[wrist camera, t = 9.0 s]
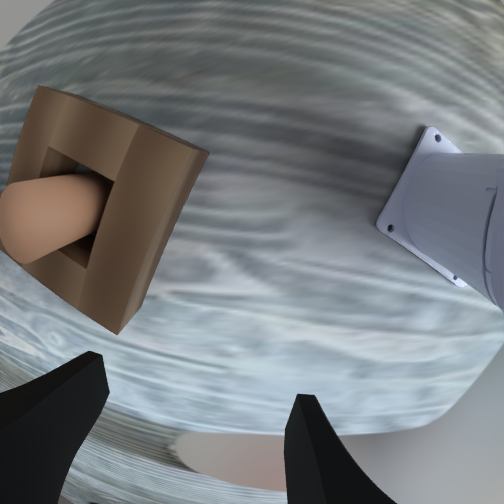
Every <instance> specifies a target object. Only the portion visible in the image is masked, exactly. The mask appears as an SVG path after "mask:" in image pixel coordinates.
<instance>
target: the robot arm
mask: <svg viewBox="0 0 504 504" xmlns="http://www.w3.org/2000/svg"><path fill="white" fill-rule="evenodd" d="M435 135H437V137H438V141H436V140H435ZM389 225H392V230H391V231H388V230H387V228H388V226H389ZM376 226H377V228H378V229H379V230H380V231H381V232H383V233H384V234H386V235H387V236H389V237H390V238H392V239H393V240H395V241H396V242H398V243H399V244H401V245H402V246H403V247H405V248H406V249H408V250H409V251H411V252H412V253H413V254H415V255H416V256H418V257H419V258H420V259H422V260H423V261H425V262H426V263H427V264H429V265H430V266H431V267H433V268H434V269H435V270H437V271H438V272H439V273H441V274H442V275H443V276H445V277H446V278H447V279H449V280H450V281H451V282H453V283H454V284H455V285H456V286H458V287H459V288H463V287H464V286H465V285H466V284H468V285H470V286H471V287H473V288H474V289H475V290H477V291H478V292H479V293H481V294H482V295H483V296H484V297H486V298H487V299H488V300H490V301H491V302H492V303H494V304H495V305H496V306H498V307H499V308H500V309H501V310H502V312H503V314H504V155H502V154H476V153H462V152H461V151H460V150H459V149H458V148H457V147H456V146H455V145H454V144H453V143H452V142H450V141H449V140H448V139H447V138H446V137H445V136H444V135H443V134H442V133H440V132H439V131H438V130H437V129H436V128H434V127H433V126H429V127H426V128H425V130H424V132H423V134H422V136H421V138H420V140H419V142H418V144H417V146H416V148H415V150H414V152H413V154H412V156H411V158H410V160H409V162H408V164H407V166H406V168H405V170H404V172H403V174H402V176H401V178H400V180H399V182H398V183H397V185H396V187H395V189H394V191H393V193H392V194H391V196H390V198H389V200H388V202H387V203H386V205H385V207H384V209H383V210H382V212H381V214H380V216H379V217H378V219H377V222H376ZM454 274H455V277H454V278H453V276H454ZM109 393H110V391H109V387H108V382H107V377H106V372H105V367H104V362H103V356H102V355H101V354H98V353H95V352H92V351H87V352H85V353H83V354H81V355H80V356H78V357H76V358H74V359H72V360H71V361H69V362H67V363H65V364H63V365H62V366H60V367H58V368H56V369H54V370H52V371H50V372H49V373H47V374H45V375H43V376H40V377H38V378H36V379H34V380H32V381H30V382H28V383H26V384H23V385H21V386H18V387H16V388H13V389H10V390H7V391H4V392H1V393H0V504H58V500H59V496H60V493H61V490H62V487H63V484H64V481H65V478H66V476H67V473H68V471H69V468H70V466H71V464H72V461H73V459H74V457H75V455H76V453H77V451H78V450H79V448H80V446H81V445H82V443H83V441H84V440H85V438H86V437H87V435H88V433H89V432H90V430H91V428H92V427H93V425H94V424H95V422H96V420H97V419H98V417H99V415H100V414H101V412H102V409H103V407H104V405H105V403H106V400H107V398H108V395H109ZM284 460H285V473H286V487H287V500H288V504H397V503H395V502H394V501H393V500H392V499H391V498H390V497H388V496H387V495H386V494H385V493H384V492H383V491H382V490H380V489H379V488H378V487H377V486H376V485H375V484H374V483H373V482H372V480H370V478H369V477H368V476H367V475H366V474H365V473H364V472H363V470H362V469H361V468H360V467H359V466H358V464H357V463H356V462H355V460H354V459H353V458H352V456H351V455H350V454H349V452H348V451H347V450H346V448H345V447H344V445H343V444H342V442H341V440H340V439H339V437H338V436H337V434H336V433H335V431H334V429H333V428H332V426H331V424H330V422H329V421H328V419H327V417H326V415H325V413H324V412H323V410H322V408H321V406H320V404H319V402H318V400H317V398H316V397H315V395H307V394H297V396H296V399H295V402H294V405H293V408H292V411H291V414H290V416H289V419H288V422H287V425H286V428H285V440H284Z"/></svg>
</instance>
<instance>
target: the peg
mask: <svg viewBox="0 0 504 504" xmlns="http://www.w3.org/2000/svg"><path fill="white" fill-rule="evenodd" d="M114 182H115V181H113V180H111V179H109V178H107V177H105V176H104V175H102V174H100V173H98V172H88V173H79V174H70V175H62V176H54V177H47V178H40V179H34V180H28V181H22V182H16V183H12V184H10V185H8V186H7V187H6V188H5V189H4V191H3V192H2V194H1V196H0V238H1V241H2V243H3V245H4V247H5V249H6V251H7V252H8V253H9V255H10V256H11V257H12V258H13V259H15V260H16V261H18V262H20V263H23V264H27V263H31V262H33V261H35V260H37V259H39V258H41V257H43V256H45V255H47V254H49V253H51V252H53V251H55V250H57V249H59V248H61V247H63V246H65V245H67V244H69V243H72V242H74V241H76V240H78V239H80V238H82V237H85V236H87V235H89V234H91V233H93V232H96V231H98V228H99V225H100V222H101V219H102V216H103V213H104V210H105V207H106V204H107V201H108V198H109V196H110V193H111V190H112V188H113V185H114Z"/></svg>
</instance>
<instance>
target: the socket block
mask: <svg viewBox="0 0 504 504" xmlns="http://www.w3.org/2000/svg"><path fill="white" fill-rule="evenodd" d="M208 155H209V152H207V151H205V150H203V149H201V148H199V147H197V146H195V145H193V144H191V143H189V142H187V141H184V140H182V139H180V138H178V137H176V136H174V135H171V134H169V133H167V132H165V131H163V130H160V129H158V128H156V127H154V126H151V125H149V124H147V123H145V122H142V121H140V120H138V119H135V118H133V117H131V116H128V115H126V114H123V113H121V112H119V111H116V110H114V109H111V108H109V107H106V106H104V105H101V104H99V103H96V102H93V101H91V100H88V99H86V98H83V97H80V96H78V95H75V94H72V93H68V92H64V91H60V90H56V89H52V88H48V87H44V86H40V85H39V86H38V88H37V90H36V93H35V95H34V98H33V100H32V103H31V105H30V108H29V111H28V113H27V116H26V119H25V122H24V125H23V128H22V131H21V134H20V137H19V140H18V144H17V147H16V151H15V154H14V158H13V162H12V166H11V170H10V174H9V179H8V183H7V186H8V185H10V184H12V183H16V182H22V181H28V180H34V179H40V178H47V177H54V176H62V175H70V174H74V173H75V170H76V167H77V164H78V162H79V163H81V164H83V165H85V166H87V167H88V168H90V169H92V170H94V171H96V172H98V173H100V174H102V175H104V176H105V177H107V178H109V179H111V180H113V181H115V182H114V185H113V188H112V190H111V193H110V196H109V198H108V201H107V204H106V207H105V210H104V213H103V216H102V219H101V222H100V225H99V228H98V231H97V235H96V238H95V237H94V236H92V235H91V234H89V235H87V236H85V237H82V238H80V239H78V240H76V241H74V242H72V243H69V244H67V245H65V246H63V247H61V248H59V249H57V250H55V251H53V252H51V253H49V254H47V255H45V256H43V257H41V258H39V259H37V260H35V261H33V262H31V263H27V264H23V263H20V262H18V261H16V260H15V259H13V258H12V257H11V256H10V255H9V253H8V252H7V251H6V249H5V247H4V245H3V243H2V241H1V238H0V249H1V250H2V251H3V252H4V253H5V254H7V255H8V256H9V257H10V258H11V259H12V260H13V261H15V262H16V263H17V264H18V265H19V266H21V267H22V268H23V269H24V270H25V271H27V272H28V273H29V274H30V275H32V276H33V277H34V278H35V279H37V280H38V281H39V282H40V283H42V284H43V285H44V286H46V287H47V288H48V289H49V290H51V291H52V292H54V293H55V294H56V295H58V296H59V297H60V298H62V299H63V300H64V301H66V302H67V303H69V304H70V305H72V306H73V307H74V308H76V309H77V310H79V311H80V312H82V313H83V314H85V315H86V316H88V317H89V318H91V319H92V320H94V321H95V322H97V323H98V324H100V325H101V326H103V327H105V328H106V329H108V330H109V331H111V332H113V333H114V334H116V335H118V334H119V333H120V331H121V330H122V329H123V328H124V327H125V325H126V324H127V323H128V322H129V321H130V319H131V318H132V317H133V316H134V315H135V314H136V312H137V311H138V310H139V309H140V308H141V305H142V303H143V300H144V298H145V295H146V292H147V290H148V287H149V285H150V282H151V280H152V277H153V275H154V272H155V270H156V268H157V265H158V263H159V260H160V258H161V256H162V253H163V251H164V248H165V246H166V244H167V242H168V239H169V237H170V235H171V232H172V230H173V228H174V226H175V223H176V221H177V219H178V217H179V215H180V213H181V210H182V208H183V206H184V204H185V202H186V200H187V198H188V195H189V193H190V191H191V189H192V187H193V185H194V183H195V181H196V179H197V177H198V175H199V173H200V171H201V169H202V167H203V165H204V163H205V161H206V159H207V157H208Z"/></svg>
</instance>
